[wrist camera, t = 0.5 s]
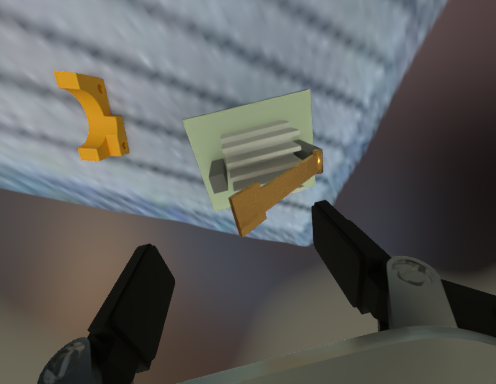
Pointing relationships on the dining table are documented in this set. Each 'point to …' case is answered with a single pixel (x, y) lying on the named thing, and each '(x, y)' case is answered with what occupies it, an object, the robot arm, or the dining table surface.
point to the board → (251, 144)
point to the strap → (271, 192)
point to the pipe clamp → (95, 117)
